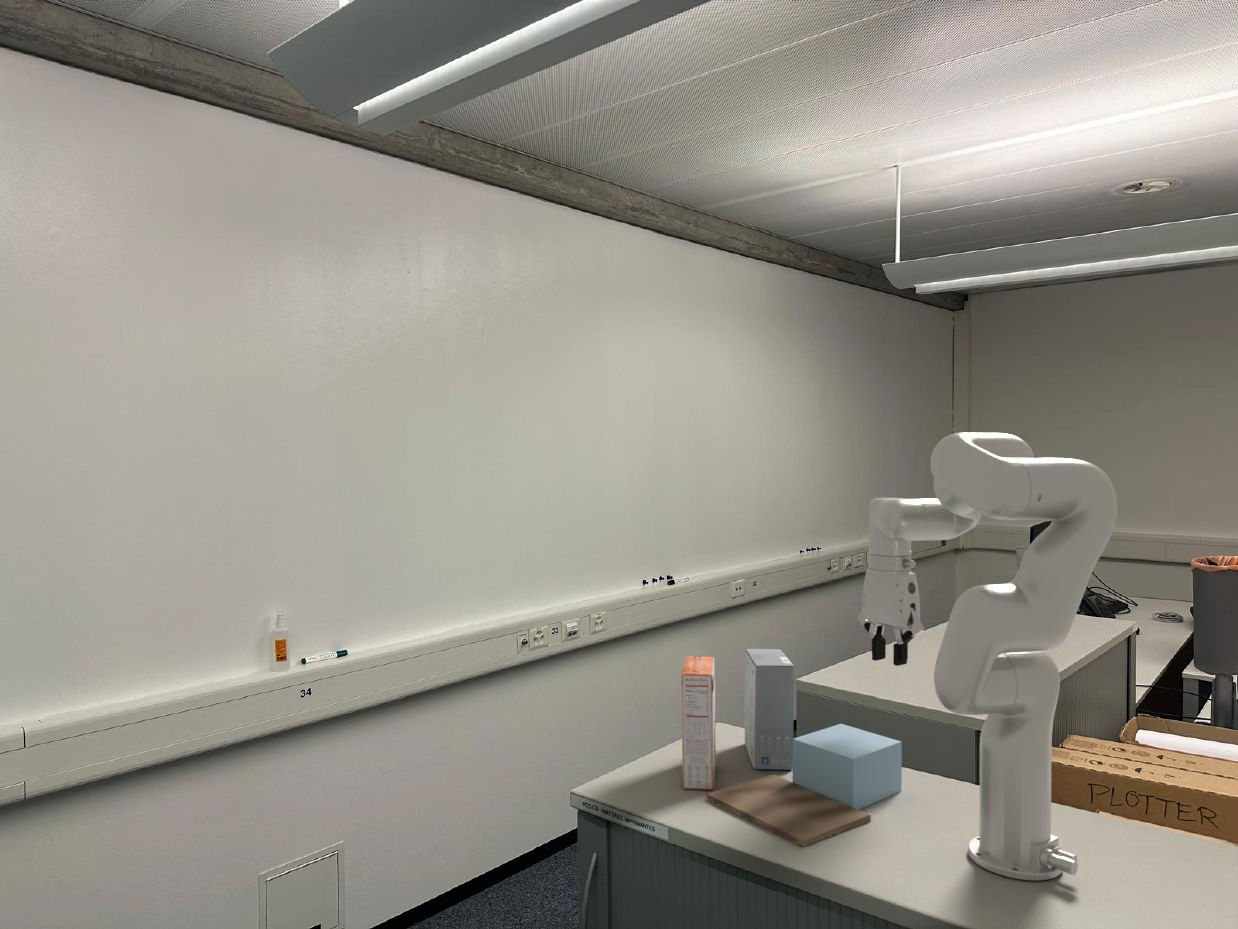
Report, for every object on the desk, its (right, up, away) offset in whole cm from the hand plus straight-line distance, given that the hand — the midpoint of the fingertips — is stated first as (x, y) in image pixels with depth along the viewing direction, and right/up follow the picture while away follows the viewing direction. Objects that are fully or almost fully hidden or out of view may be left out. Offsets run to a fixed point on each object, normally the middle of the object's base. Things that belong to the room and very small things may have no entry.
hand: (889, 661), depth 158 cm
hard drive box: (-21, -22, +10) cm, 32 cm away
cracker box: (-36, -22, -1) cm, 42 cm away
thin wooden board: (-22, -21, -16) cm, 35 cm away
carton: (-10, -22, -7) cm, 25 cm away
